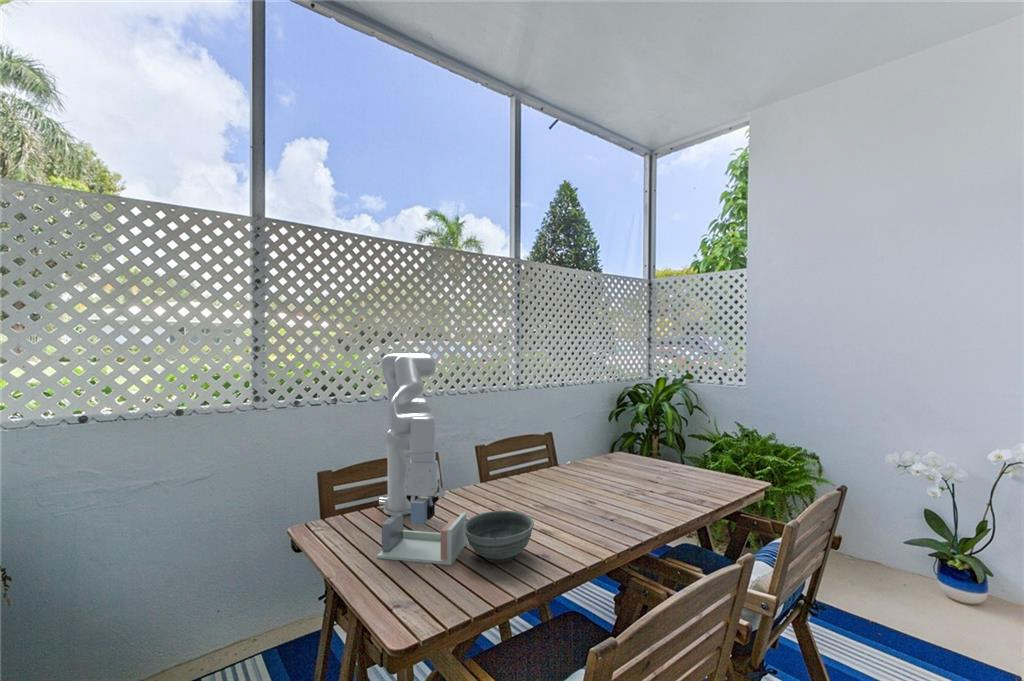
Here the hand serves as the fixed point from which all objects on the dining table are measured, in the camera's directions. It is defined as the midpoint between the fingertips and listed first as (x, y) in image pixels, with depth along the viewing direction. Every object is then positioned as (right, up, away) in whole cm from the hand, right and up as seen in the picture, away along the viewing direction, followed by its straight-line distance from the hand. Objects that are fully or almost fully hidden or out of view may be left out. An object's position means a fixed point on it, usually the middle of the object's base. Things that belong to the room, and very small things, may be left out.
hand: (423, 516), depth 134 cm
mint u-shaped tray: (0, -10, 0) cm, 10 cm away
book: (0, -1, 0) cm, 1 cm away
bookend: (-10, -9, +2) cm, 14 cm away
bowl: (+23, -10, -4) cm, 26 cm away
